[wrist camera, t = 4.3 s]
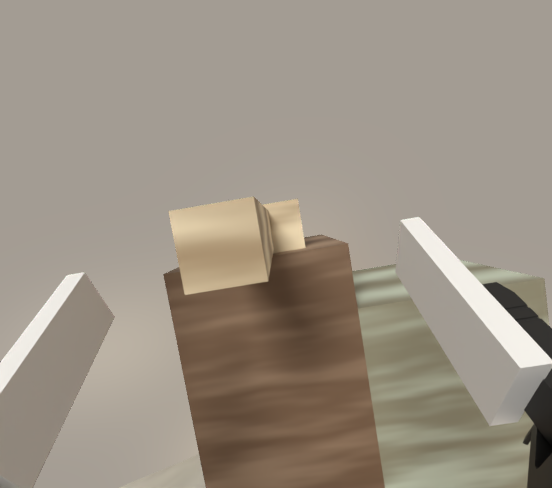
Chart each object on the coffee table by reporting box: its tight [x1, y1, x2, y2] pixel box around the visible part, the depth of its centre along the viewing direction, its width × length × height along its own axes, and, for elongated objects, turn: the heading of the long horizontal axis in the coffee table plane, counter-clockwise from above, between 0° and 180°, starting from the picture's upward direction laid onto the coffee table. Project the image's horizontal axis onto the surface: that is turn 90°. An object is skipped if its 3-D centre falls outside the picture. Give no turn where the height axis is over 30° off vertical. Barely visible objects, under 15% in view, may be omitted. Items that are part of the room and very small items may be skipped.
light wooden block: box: [169, 197, 306, 295], centre depth 23 cm, size 24×8×4 cm, turn 0°
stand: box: [164, 235, 549, 488], centre depth 31 cm, size 14×28×29 cm, turn 90°
